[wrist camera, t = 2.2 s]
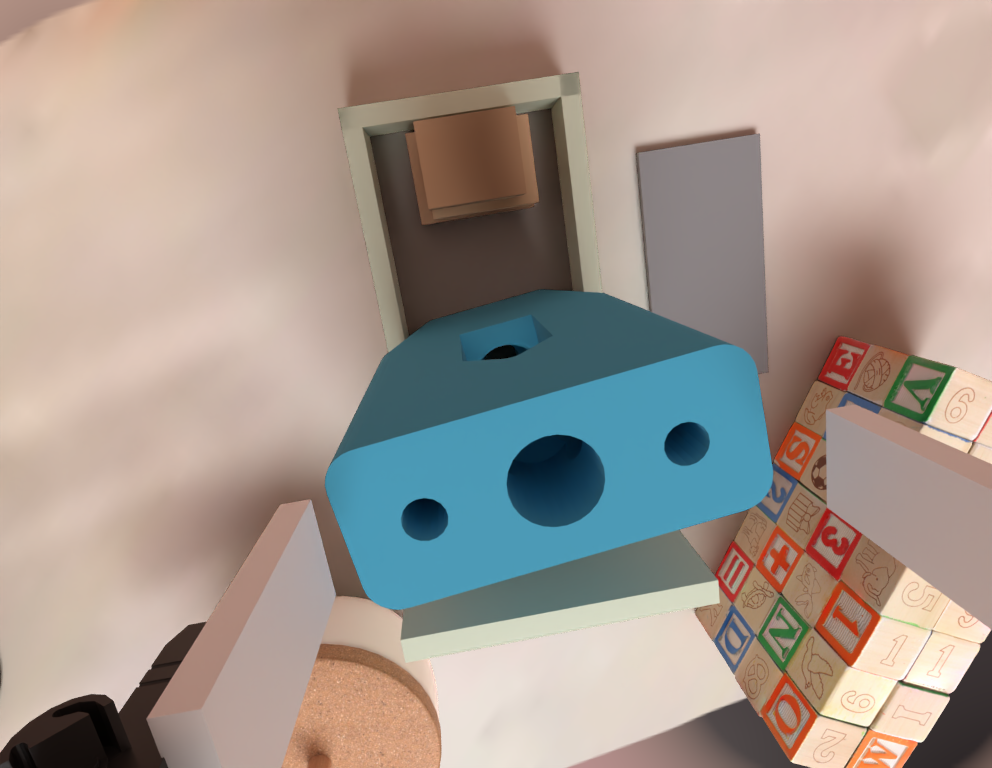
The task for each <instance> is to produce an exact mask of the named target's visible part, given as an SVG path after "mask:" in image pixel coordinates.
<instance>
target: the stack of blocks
mask: <svg viewBox="0 0 992 768" xmlns="http://www.w3.org/2000/svg"><path fill="white" fill-rule="evenodd" d="M850 405H857V406H860V407H862V408H864V409H866V410H869V411H871V412H873V413H876V414H878V415H880V416H883V417H885V418H887V419H889V420H892V421H894V422H896V423H899V424H901V425H903V426H905V427H908V428H910V429H912V430H915V431H917V432H919V433H921V434H924V435H926V436H928V437H931V438H933V439H935V440H938V441H940V442H942V443H944V444H947V445H949V446H951V447H954V448H956V449H958V450H960V451H963V452H965V453H967V454H970V455H972V456H974V457H976V458H979V459H981V460H983V461H986V462H988V463H990V464H992V381H990V380H987V379H985V378H982V377H980V376H977V375H974V374H972V373H969V372H967V371H964V370H962V369H959V368H957V367H954V366H950V365H947V364H943V363H940V362H936V361H932V360H928V359H924V358H921V357H917V356H914V355H910V356H909V355H907V354H904V353H901V352H898V351H894V350H891V349H888V348H884V347H881V346H878V345H874V344H873V345H871V344H868V343H865V342H862V341H859V340H855V339H852V338H848V337H844V336H839V337H838V339H837V341H836V343H835V345H834V347H833V349H832V351H831V353H830V355H829V357H828V359H827V361H826V363H825V365H824V367H823V369H822V371H821V373H820V375H819V377H818V380H817V381H815V382H814V383H813V385H812V387H811V389H810V391H809V393H808V395H807V397H806V399H805V401H804V403H803V405H802V407H801V409H800V411H799V412H798V415H797V417H796V420H795V422H794V423H793V425H792V426H791V428H790V430H789V432H788V434H787V436H786V438H785V439H784V441H783V443H782V445H781V447H780V449H779V451H778V453H777V455H776V457H775V459H774V464H773V465H772V467H773V481H772V485H771V488H770V489H769V491H768V493H767V495H766V496H765V497H764V498H763V499H762V501H761V502H759V503H758V504H757V505H755V506H754V507H752V508H750V510H749V512H748V514H747V516H746V518H745V520H744V522H743V524H742V526H741V528H740V530H739V532H738V534H737V535H736V537H735V540H734V541H733V542H732V543H731V545H730V547H729V549H728V551H727V553H726V555H725V557H724V559H723V561H722V562H721V564H720V566H719V568H718V570H717V572H716V574H715V577H716V578H717V579H718V584H719V599H720V603H718V604H712V605H707V606H702V607H698V608H697V610H696V612H695V614H696V616H697V618H698V619H699V621H700V622H701V624H702V625H703V627H704V629H705V631H706V632H707V633H708V635H709V637H710V638H711V639H712V641H713V642H714V643H715V645H716V647H717V648H718V650H719V652H720V653H721V655H722V656H723V658H724V659H725V661H726V662H727V664H728V666H729V667H730V669H731V671H732V672H733V674H734V675H735V679H736V680H737V682H738V683H739V685H740V687H741V689H742V690H743V691H744V693H745V695H746V697H747V698H748V700H749V701H750V703H751V705H752V706H753V707H754V709H755V710H756V712H757V714H758V715H759V716H761V717H763V719H764V721H765V722H766V724H767V726H768V727H769V729H770V730H771V732H772V733H773V735H774V737H775V738H776V740H777V741H778V743H779V745H780V746H781V748H782V749H783V751H784V753H785V754H786V756H787V757H788V758H789V760H790V761H791V762H793V763H796V764H800V765H804V766H808V767H812V768H902V766H903V765H904V763H905V762H906V760H907V759H908V758H909V756H910V754H911V753H912V751H913V750H914V748H915V747H916V745H917V742H922V741H924V740H925V738H926V736H927V735H928V733H929V732H930V730H931V729H932V727H933V725H934V724H935V722H936V721H937V719H938V718H939V716H940V714H941V713H942V711H943V710H944V708H945V706H946V704H947V703H948V701H949V699H950V697H949V695H948V694H949V693H951V692H953V691H954V690H955V689H956V687H957V685H958V684H959V682H960V681H961V679H962V677H963V675H964V674H965V672H966V671H967V670H968V668H969V666H970V664H971V662H972V661H973V659H974V658H975V656H976V654H977V653H978V651H979V649H980V643H981V642H983V641H984V640H985V638H986V637H987V635H988V634H989V632H990V630H991V629H990V628H988V627H987V626H986V625H984V624H983V623H982V622H980V621H979V620H978V619H976V618H975V617H974V616H972V615H971V614H970V613H968V612H967V611H965V610H964V609H963V608H961V607H960V606H959V605H957V604H956V603H955V602H953V601H952V600H951V599H949V598H948V597H947V596H945V595H944V594H943V593H941V592H940V591H939V590H937V589H936V588H935V587H933V586H932V585H931V584H929V583H928V582H926V581H925V580H924V579H922V578H921V577H920V576H918V575H917V574H916V573H914V572H913V571H912V570H910V569H909V568H908V567H906V566H905V565H904V564H902V563H901V562H900V561H898V560H897V559H896V558H894V557H893V556H892V555H890V554H889V553H888V552H886V551H885V550H883V549H882V548H881V547H879V546H878V545H877V544H875V543H874V542H873V541H871V540H870V539H869V538H867V537H866V536H865V535H863V534H862V533H861V532H859V531H858V530H857V529H855V528H854V527H853V526H851V525H850V524H849V523H847V522H846V521H844V520H843V519H842V518H840V517H839V516H838V515H836V514H835V513H834V512H832V511H831V510H830V509H828V508H827V471H826V410H827V409H833V408H838V407H844V406H850Z"/></svg>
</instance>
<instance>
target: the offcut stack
mask: <svg viewBox="0 0 992 768" xmlns="http://www.w3.org/2000/svg"><path fill="white" fill-rule="evenodd" d="M413 125H414V130H415V132H411V133H405V136H406V141H407V147H408V152H409V158H410V163H411V169H412V174H413V180H414V185H415V191H416V196H417V202H418V207H419V212H420V218H421V223H422V225H428V224H434V223H440V222H446V221H453V220H459V219H465V218H471V217H477V216H484V215H490V214H496V213H502V212H509V211H515V210H521V209H527V208H531V207H534V203H537V202H539V196H538V189H537V181H536V173H535V166H534V158H533V150H532V143H531V135H530V127H529V120H528V114H523V115H517V116H516V111H515V106H512V107H505V108H499V109H492V110H485V111H479V112H472V113H466V114H459V115H453V116H446V117H440V118H433V119H427V120H420V121H414V122H413Z"/></svg>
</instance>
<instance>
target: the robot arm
mask: <svg viewBox="0 0 992 768" xmlns="http://www.w3.org/2000/svg"><path fill="white" fill-rule="evenodd" d="M826 471H827V508H828V509H830V510H831V511H832V512H834V513H835V514H836V515H838V516H839V517H840V518H842V519H843V520H844V521H846V522H847V523H849V524H850V525H851V526H853V527H854V528H855V529H857V530H858V531H859V532H861V533H862V534H863V535H865V536H866V537H867V538H869V539H870V540H871V541H873V542H874V543H875V544H877V545H878V546H879V547H881V548H882V549H883V550H885V551H886V552H888V553H889V554H890V555H892V556H893V557H894V558H896V559H897V560H898V561H900V562H901V563H902V564H904V565H905V566H906V567H908V568H909V569H910V570H912V571H913V572H914V573H916V574H917V575H918V576H920V577H921V578H922V579H924V580H925V581H926V582H928V583H929V584H931V585H932V586H933V587H935V588H936V589H937V590H939V591H940V592H941V593H943V594H944V595H945V596H947V597H948V598H949V599H951V600H952V601H953V602H955V603H956V604H957V605H959V606H960V607H961V608H963V609H964V610H965V611H967V612H968V613H970V614H971V615H972V616H974V617H975V618H976V619H978V620H979V621H980V622H982V623H983V624H984V625H986V626H987V627H988V628H990V629H991V630H992V464H990V463H988V462H986V461H983V460H981V459H979V458H976V457H974V456H972V455H970V454H967V453H965V452H963V451H960V450H958V449H956V448H954V447H951V446H949V445H947V444H944V443H942V442H940V441H938V440H935V439H933V438H931V437H928V436H926V435H924V434H921V433H919V432H917V431H915V430H912V429H910V428H908V427H905V426H903V425H901V424H899V423H896V422H894V421H892V420H889V419H887V418H885V417H883V416H880V415H878V414H876V413H873V412H871V411H869V410H866V409H864V408H862V407H860V406H857V405H850V406H844V407H838V408H833V409H827V410H826ZM335 597H336V593H335V589H334V585H333V581H332V578H331V574H330V570H329V566H328V562H327V558H326V555H325V551H324V547H323V543H322V539H321V535H320V532H319V528H318V524H317V520H316V516H315V512H314V509H313V505H312V501H311V499H309V500H303V501H297V502H291V503H286V504H280V505H279V507H278V509H277V510H276V512H275V514H274V515H273V517H272V518H271V520H270V522H269V523H268V525H267V526H266V528H265V530H264V531H263V533H262V534H261V536H260V538H259V539H258V541H257V542H256V544H255V546H254V547H253V549H252V550H251V552H250V554H249V555H248V557H247V558H246V560H245V562H244V563H243V565H242V566H241V568H240V570H239V571H238V573H237V574H236V576H235V578H234V579H233V581H232V582H231V584H230V586H229V587H228V589H227V590H226V592H225V594H224V595H223V597H222V599H221V600H220V602H219V603H218V605H217V607H216V608H215V610H214V611H213V613H212V615H211V616H210V618H209V619H208V621H207V622H203V623H197V624H192V625H188V626H187V627H186V628H185V629H184V630H182V631H181V632H180V633H179V634H178V635H177V636H175V637H174V638H173V639H172V640H171V641H170V642H169V643H167V644H166V645H165V647H164V648H163V650H162V651H161V653H160V654H159V655H158V657H157V658H156V660H155V661H154V663H153V664H152V669H151V670H148V671H147V673H146V674H145V676H144V677H143V679H142V680H141V682H140V683H139V684H140V686H139V687H137V688H136V689H135V690H134V692H133V693H132V695H131V696H130V698H129V699H128V701H127V702H126V703H125V705H124V706H123V708H122V709H121V711H120V712H119V714H118V711H117V709H116V706H115V704H114V701H113V700H111V699H110V698H109V697H107V696H106V695H96V694H90V695H86V696H82V697H78V698H74V699H71V700H69V701H67V702H64V703H62V704H60V705H58V706H55V707H53V708H51V709H49V710H48V711H46V712H45V713H43V714H41V715H40V716H38V717H37V718H35V719H34V720H32V721H31V722H29V723H28V724H27V725H26V726H25V727H23V728H22V729H21V730H20V731H19V732H18V733H17V734H15V735H14V736H13V737H12V738H11V739H10V741H9V742H8V743H7V745H6V746H5V747H4V749H3V750H2V751H1V753H0V768H281V767H282V764H283V761H284V758H285V755H286V752H287V748H288V745H289V742H290V739H291V736H292V733H293V729H294V726H295V723H296V720H297V717H298V714H299V710H300V707H301V704H302V701H303V698H304V695H305V692H306V688H307V685H308V682H309V679H310V676H311V673H312V669H313V666H314V663H315V660H316V657H317V654H318V650H319V647H320V644H321V641H322V638H323V635H324V632H325V628H326V625H327V622H328V619H329V616H330V613H331V609H332V606H333V603H334V600H335ZM0 684H1V673H0Z"/></svg>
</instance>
